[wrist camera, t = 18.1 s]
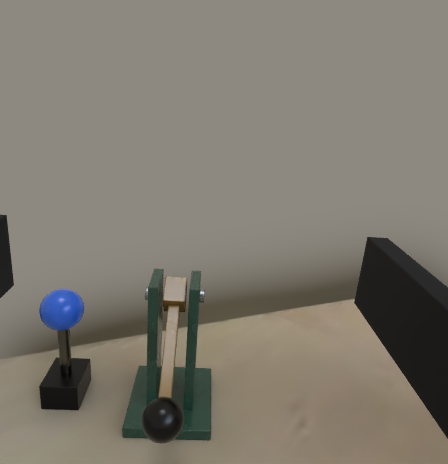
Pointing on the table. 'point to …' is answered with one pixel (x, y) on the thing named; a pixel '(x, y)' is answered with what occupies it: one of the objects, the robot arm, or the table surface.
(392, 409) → the table surface
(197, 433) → the switch bracket
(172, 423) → the switch lever
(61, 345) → the blue knob joystick
